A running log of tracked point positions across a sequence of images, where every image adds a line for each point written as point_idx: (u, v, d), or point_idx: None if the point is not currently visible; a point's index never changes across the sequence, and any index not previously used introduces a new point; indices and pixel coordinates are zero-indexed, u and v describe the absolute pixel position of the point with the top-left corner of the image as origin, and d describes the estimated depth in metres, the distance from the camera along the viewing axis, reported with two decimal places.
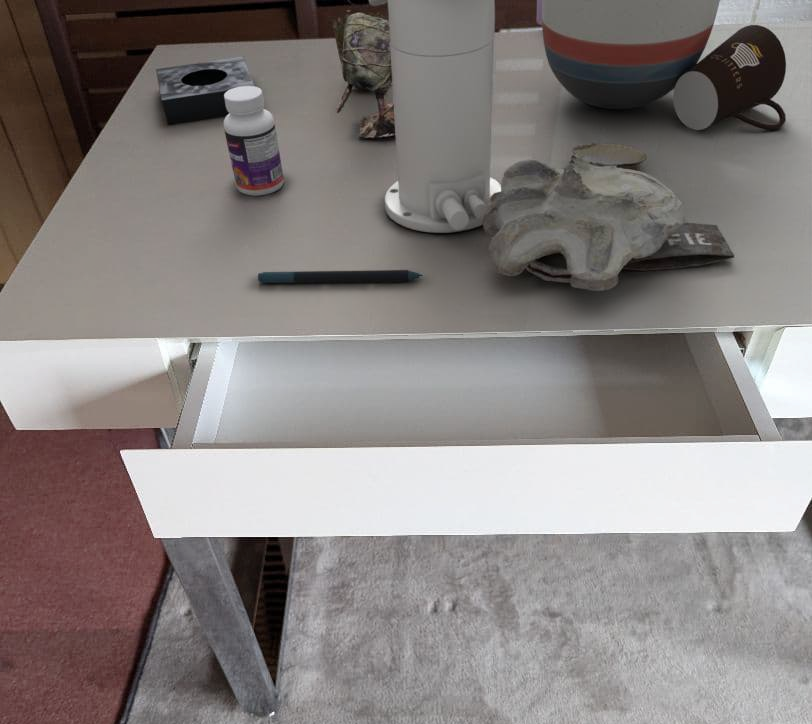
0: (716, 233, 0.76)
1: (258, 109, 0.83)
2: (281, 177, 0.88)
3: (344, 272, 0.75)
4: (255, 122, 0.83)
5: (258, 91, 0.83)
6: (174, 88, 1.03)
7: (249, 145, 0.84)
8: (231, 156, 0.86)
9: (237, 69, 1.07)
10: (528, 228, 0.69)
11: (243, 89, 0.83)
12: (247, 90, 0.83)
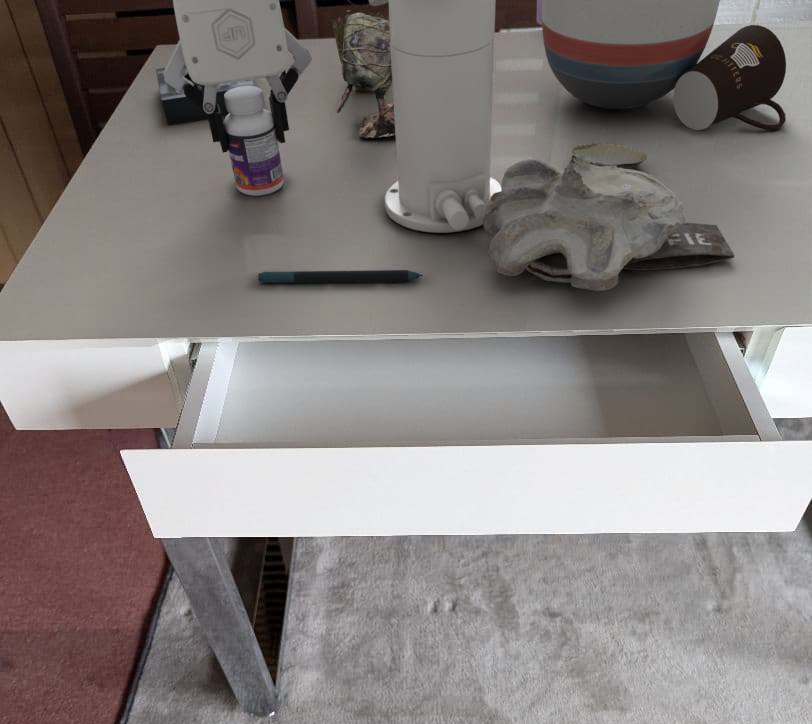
0: (716, 233, 0.76)
1: (258, 109, 0.83)
2: (281, 177, 0.88)
3: (344, 272, 0.75)
4: (255, 122, 0.83)
5: (258, 91, 0.83)
6: (174, 88, 1.03)
7: (249, 145, 0.84)
8: (231, 156, 0.86)
9: None
10: (528, 228, 0.69)
11: (243, 89, 0.83)
12: (247, 90, 0.83)
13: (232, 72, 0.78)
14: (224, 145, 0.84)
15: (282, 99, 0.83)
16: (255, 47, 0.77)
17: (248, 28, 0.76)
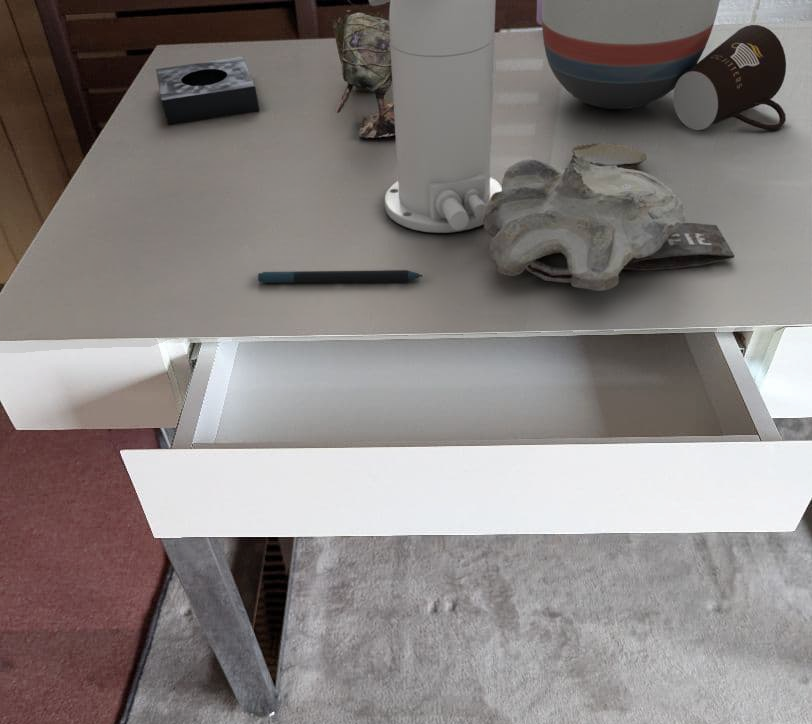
0: (716, 233, 0.76)
1: None
2: None
3: (344, 272, 0.75)
4: None
5: None
6: (174, 88, 1.03)
7: None
8: None
9: (237, 69, 1.07)
10: (528, 228, 0.69)
11: None
12: None
13: None
14: None
15: None
16: None
17: None
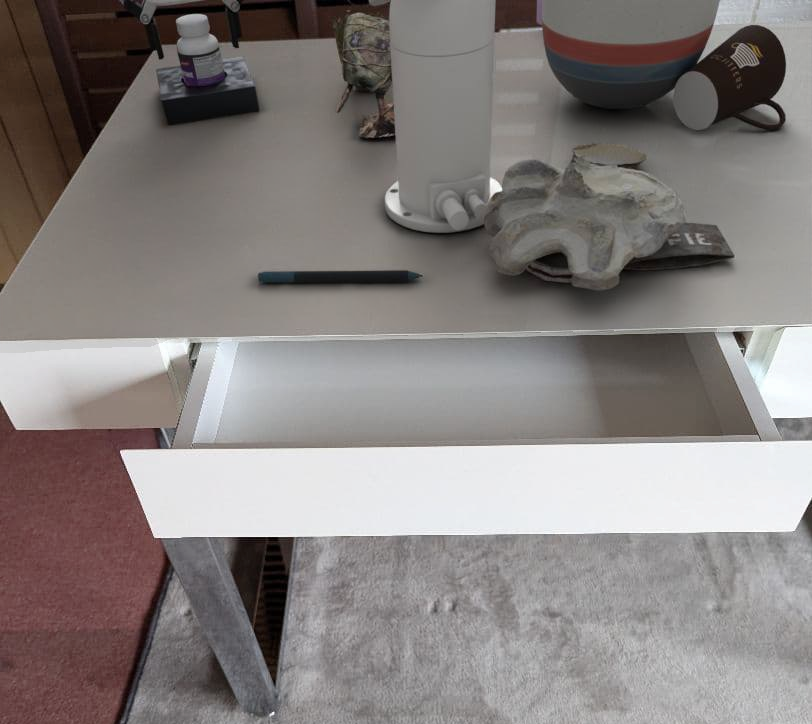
0: (716, 233, 0.76)
1: (204, 32, 1.00)
2: None
3: (344, 272, 0.75)
4: (201, 43, 1.01)
5: (204, 17, 1.00)
6: (174, 88, 1.03)
7: (197, 63, 1.02)
8: (183, 74, 1.04)
9: (237, 69, 1.07)
10: (529, 227, 0.70)
11: (192, 16, 1.01)
12: (195, 17, 1.01)
13: None
14: (160, 53, 1.01)
15: (236, 9, 1.00)
16: None
17: None
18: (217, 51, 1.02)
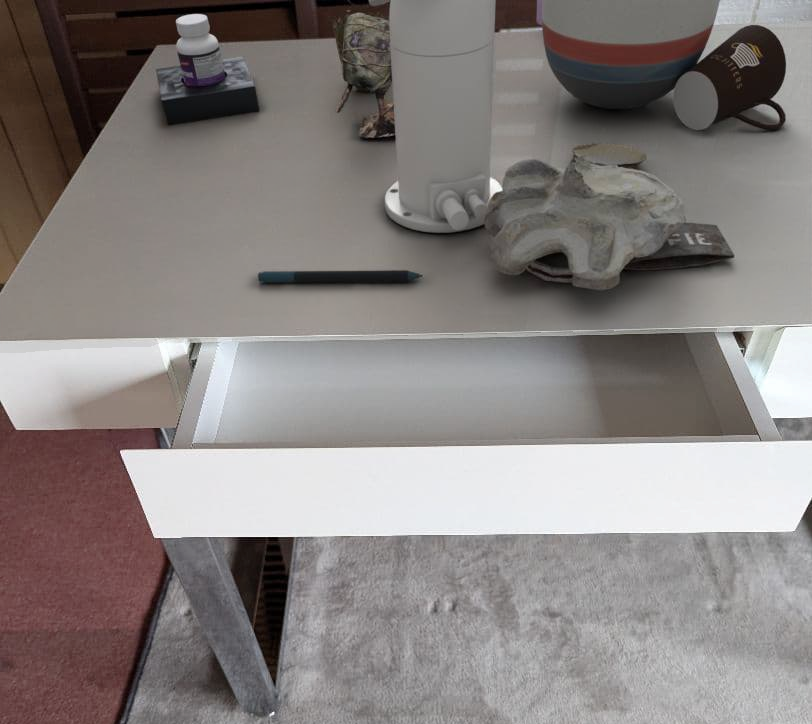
0: (716, 233, 0.76)
1: (204, 32, 1.00)
2: None
3: (344, 272, 0.75)
4: (201, 43, 1.01)
5: (204, 17, 1.00)
6: (174, 88, 1.03)
7: (197, 63, 1.02)
8: (183, 74, 1.04)
9: (237, 69, 1.07)
10: (529, 227, 0.70)
11: (192, 16, 1.01)
12: (195, 16, 1.01)
13: None
14: None
15: None
16: None
17: None
18: (217, 51, 1.02)
